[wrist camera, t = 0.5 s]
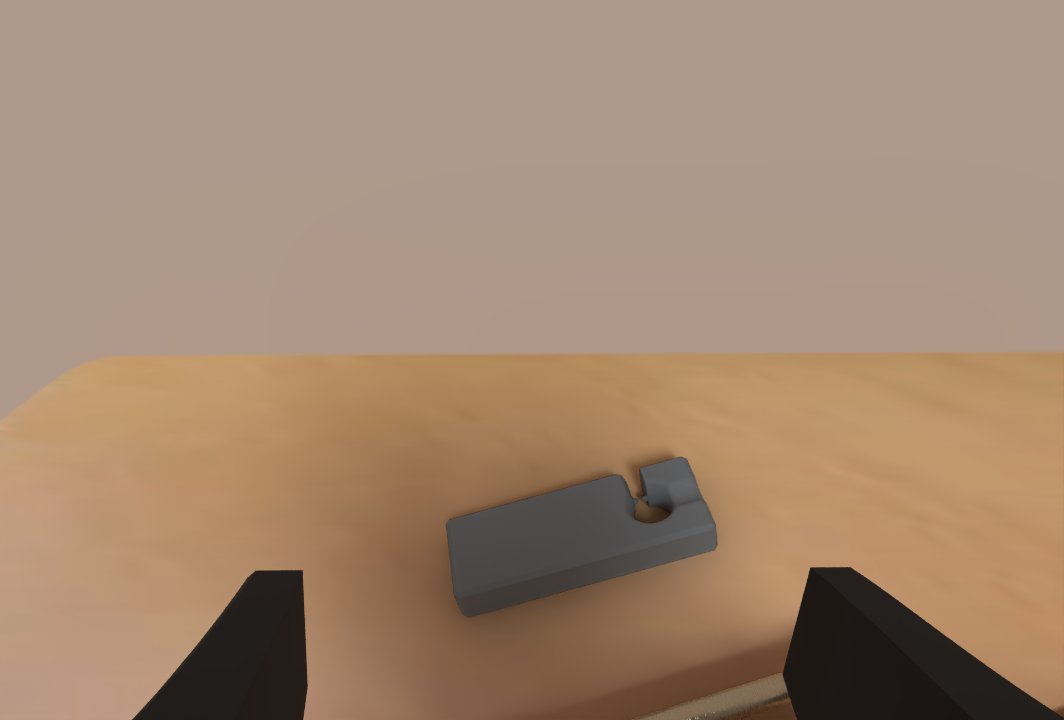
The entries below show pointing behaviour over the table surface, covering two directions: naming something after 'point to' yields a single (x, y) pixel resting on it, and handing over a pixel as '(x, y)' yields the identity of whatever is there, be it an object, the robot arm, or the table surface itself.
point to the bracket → (575, 538)
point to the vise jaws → (730, 702)
